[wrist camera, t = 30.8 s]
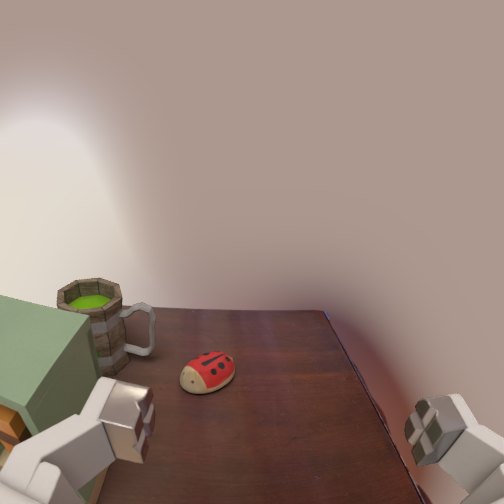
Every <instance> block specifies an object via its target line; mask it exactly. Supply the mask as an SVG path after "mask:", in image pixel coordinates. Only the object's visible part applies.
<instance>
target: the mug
mask: <svg viewBox="0 0 504 504" xmlns="http://www.w3.org/2000/svg"><path fill="white" fill-rule="evenodd" d="M57 307H58V309H61V310H65V311H70V312H75V313H80V314H85V315H89V317H90V323H91V328H92V333H93V339H94V343H95V348H96V353H97V357H98V362H99V366H100V370H101V375H102V376H103V377H105V376H112V375H116V374H117V373H118V372H119V371H120V370H121V369H122V368H123V367H124V366H125V365H126V364H127V363H128V362H129V361H130V359H129V355H128V352H130V353H134V354H137V355H141V356H146V355H150V354H151V353H152V351H153V349H154V347H155V324H156V316H155V313H154V311H153V309H152V306H149V305H147V304H145V303H143V302H141V303H137V304H134V305H133V306H132V307H131V308H129V309H128V310H122V294H121V290H120V286H119V284H117V283H114V282H111V281H108V280H105V279H102V278H92V279H83V280H75V281H74V282H72V283H70V284H68V285H67V286H65V287H63V288H61V289H60V290H58V295H57ZM139 310H142V311H144V312H147V313H148V315H149V318H150V326H149V336H150V346H149V348H144V349H143V348H140V347H138V346H134V345H130V344H126V330H125V325H124V321H123V318H128V317H130V316H131V315H132V314H133V313H134V312H136V311H139Z"/></svg>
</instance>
